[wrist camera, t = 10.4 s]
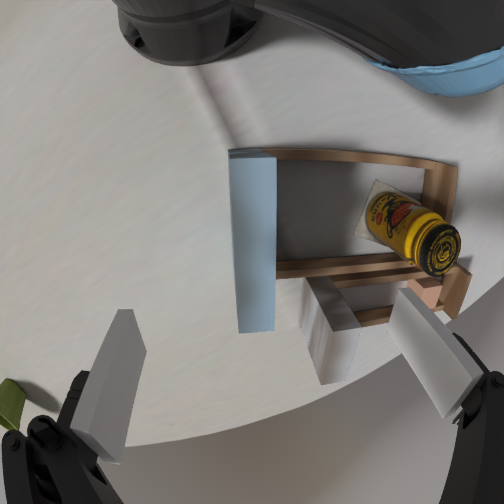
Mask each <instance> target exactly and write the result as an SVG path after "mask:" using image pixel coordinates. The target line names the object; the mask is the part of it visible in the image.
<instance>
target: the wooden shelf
mask: <svg viewBox="0 0 504 504" xmlns="http://www.w3.org/2000/svg"><path fill="white" fill-rule="evenodd" d="M228 160H229V184H230V206H231V226H232V245H233V263H234V278H235V291H236V304H237V317H238V329H239V333H253V332H265V331H274V322H275V285H276V279H288V278H301V277H313V276H325V275H336V274H347V273H357V272H367V271H377V270H387V269H396V268H405V267H413V266H412V265H410V264H409V263H408V262H406V261H405V260H404V259H403V258H401V257H400V256H399V255H398V254H397V253H390V254H377V255H364V256H350V257H336V258H322V259H307V260H293V261H277V262H276V211H277V170H276V160H326V161H349V162H365V163H378V164H389V165H399V166H408V167H417V168H424V169H425V176H424V185H423V194H422V202H421V206H423V207H425V208H427V209H429V210H431V211H433V212H435V213H437V214H439V215H440V216H441V217H442V219H443V220H444V221H445V222H447V223H448V224H449V225H450V223H451V217H452V212H453V206H454V199H455V192H456V184H457V175H458V167H455V166H451V165H448V164H444V163H440V162H436V161H433V160H427V159H420V158H413V157H406V156H398V155H390V154H381V153H371V152H359V151H346V150H328V149H298V148H262V149H231V150H228Z"/></svg>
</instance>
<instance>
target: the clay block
mask: <svg viewBox="0 0 504 504" xmlns="http://www.w3.org/2000/svg"><path fill="white" fill-rule="evenodd" d="M442 286H443V285H442V284H441V283H439V282H438V281H437V280H436V279H435V278H434V277H433V276H431V277H425V278H418V279H411V280H408V284H407V287H406V288H408V287H410V288H411V289H412V290H413V291H414V292H415V293H416V295H417V296H418V297H419V298H420V299H421V300H422V301H423V302H424V303H425V304H426V305H427V306H428V307H429V308H430V309H433V308H435V307H436V304H437V301H438V298H439V295H440V292H441V289H442Z"/></svg>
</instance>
